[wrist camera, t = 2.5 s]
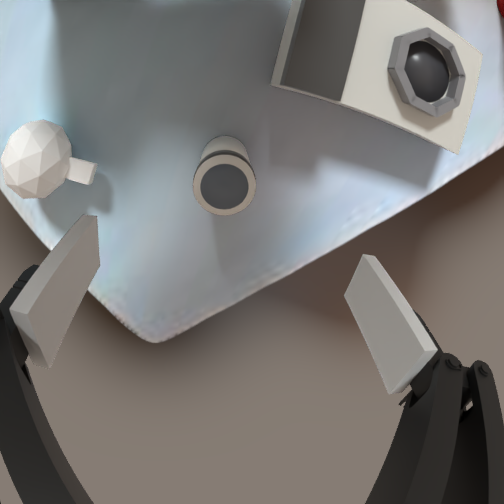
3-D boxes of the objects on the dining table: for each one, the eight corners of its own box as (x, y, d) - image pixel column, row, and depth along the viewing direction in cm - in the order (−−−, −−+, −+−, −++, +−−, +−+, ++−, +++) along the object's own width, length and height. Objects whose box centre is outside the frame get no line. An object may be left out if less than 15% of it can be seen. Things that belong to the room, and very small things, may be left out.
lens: (198, 175, 32) (188, 211, 24) (206, 131, 30) (197, 151, 21) (242, 182, 33) (249, 221, 25) (252, 140, 31) (263, 162, 22)
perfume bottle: (13, 185, 28) (90, 206, 32) (-21, 193, 19) (72, 220, 24) (31, 119, 26) (111, 138, 31) (0, 109, 18) (97, 131, 23)
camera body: (269, 85, 28) (283, 84, 21) (297, -22, 21) (318, -48, 14) (429, 142, 32) (468, 160, 25) (452, 52, 25) (494, 55, 18)
